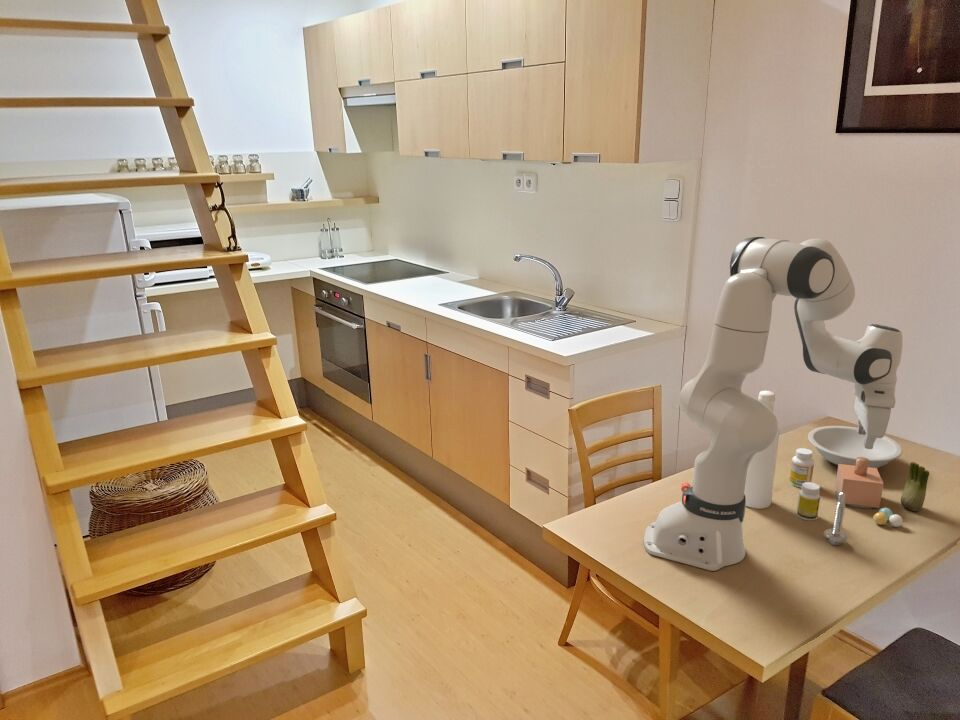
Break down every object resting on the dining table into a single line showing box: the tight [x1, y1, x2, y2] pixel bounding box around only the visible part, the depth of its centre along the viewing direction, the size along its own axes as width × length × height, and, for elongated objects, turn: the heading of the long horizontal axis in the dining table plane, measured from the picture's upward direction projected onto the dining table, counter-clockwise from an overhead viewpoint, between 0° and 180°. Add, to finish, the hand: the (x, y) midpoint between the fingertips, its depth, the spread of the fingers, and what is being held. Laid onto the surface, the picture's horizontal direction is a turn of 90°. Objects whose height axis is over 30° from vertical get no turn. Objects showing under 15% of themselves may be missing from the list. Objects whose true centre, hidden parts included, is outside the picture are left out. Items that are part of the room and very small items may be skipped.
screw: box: [823, 492, 849, 546], centre depth 163 cm, size 13×5×5 cm
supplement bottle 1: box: [789, 447, 815, 489], centre depth 191 cm, size 5×5×10 cm
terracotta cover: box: [834, 457, 884, 509], centre depth 182 cm, size 9×9×11 cm
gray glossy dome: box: [834, 491, 875, 510], centre depth 184 cm, size 10×10×1 cm
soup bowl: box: [807, 425, 903, 469], centre depth 204 cm, size 24×24×7 cm
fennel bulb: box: [900, 461, 930, 512], centre depth 178 cm, size 6×5×12 cm
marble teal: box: [878, 507, 893, 521], centre depth 174 cm, size 3×3×3 cm
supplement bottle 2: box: [796, 481, 821, 521], centre depth 175 cm, size 5×5×8 cm
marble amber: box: [873, 511, 889, 526], centre depth 172 cm, size 3×3×3 cm
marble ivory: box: [888, 513, 904, 528], centre depth 171 cm, size 3×3×3 cm
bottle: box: [744, 390, 780, 510], centre depth 179 cm, size 8×8×30 cm
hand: (864, 440), depth 179 cm, fingers open, 8 cm apart
